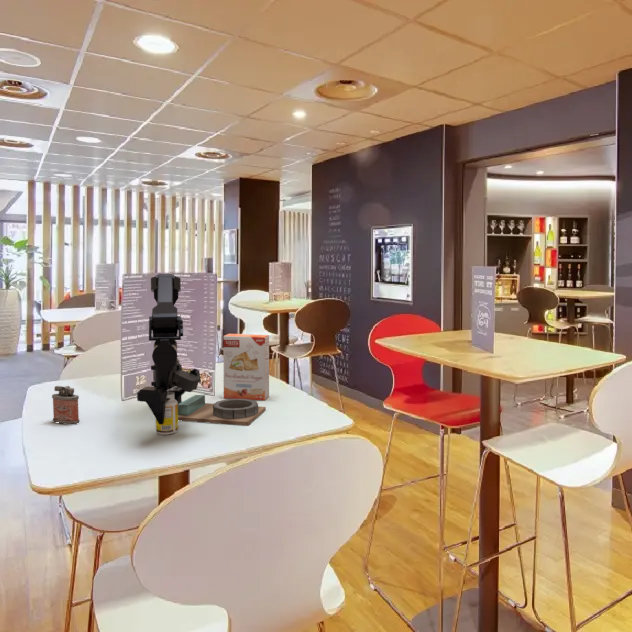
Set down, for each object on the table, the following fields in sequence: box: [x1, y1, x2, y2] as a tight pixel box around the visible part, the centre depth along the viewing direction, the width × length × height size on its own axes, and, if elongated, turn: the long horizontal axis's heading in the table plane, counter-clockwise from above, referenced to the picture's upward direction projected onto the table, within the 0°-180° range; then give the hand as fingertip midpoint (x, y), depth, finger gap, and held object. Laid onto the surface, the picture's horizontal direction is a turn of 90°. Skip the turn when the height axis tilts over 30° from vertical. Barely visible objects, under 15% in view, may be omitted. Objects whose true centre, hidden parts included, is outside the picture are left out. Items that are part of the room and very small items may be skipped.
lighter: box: [51, 385, 80, 425], centre depth 142 cm, size 8×3×10 cm, turn 71°
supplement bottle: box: [155, 392, 179, 436], centre depth 134 cm, size 6×6×10 cm
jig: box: [178, 394, 267, 426], centre depth 151 cm, size 23×16×4 cm
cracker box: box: [223, 333, 270, 401], centre depth 170 cm, size 14×6×21 cm, turn 81°
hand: (166, 420), depth 134 cm, fingers open, 6 cm apart
